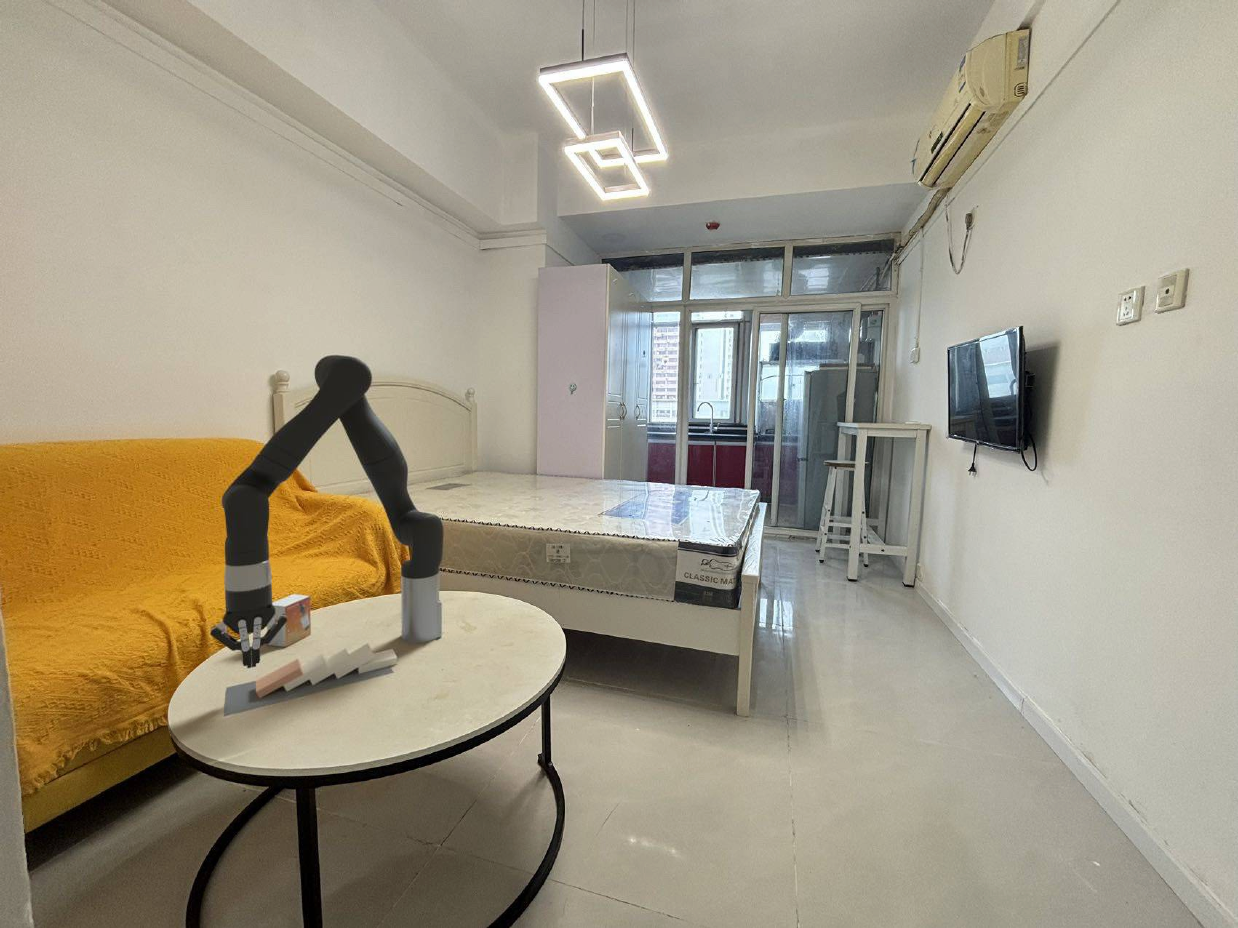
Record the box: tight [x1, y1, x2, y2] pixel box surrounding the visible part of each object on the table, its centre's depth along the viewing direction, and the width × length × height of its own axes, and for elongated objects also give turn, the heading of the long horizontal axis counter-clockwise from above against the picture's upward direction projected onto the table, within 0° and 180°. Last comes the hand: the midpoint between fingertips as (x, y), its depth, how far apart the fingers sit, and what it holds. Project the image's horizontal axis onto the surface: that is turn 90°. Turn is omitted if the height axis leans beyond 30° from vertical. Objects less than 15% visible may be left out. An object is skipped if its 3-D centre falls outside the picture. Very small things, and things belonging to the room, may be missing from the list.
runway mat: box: [223, 650, 395, 717], centre depth 107 cm, size 30×12×1 cm, turn 126°
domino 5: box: [357, 648, 398, 673], centre depth 115 cm, size 2×5×8 cm
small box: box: [266, 593, 312, 648], centre depth 126 cm, size 8×6×10 cm
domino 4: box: [335, 643, 375, 679], centre depth 112 cm, size 2×5×8 cm
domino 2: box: [283, 653, 328, 691], centre depth 106 cm, size 2×5×8 cm
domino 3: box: [310, 648, 352, 685], centre depth 109 cm, size 2×5×8 cm
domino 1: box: [255, 658, 303, 698], centre depth 104 cm, size 2×5×8 cm
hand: (251, 665), depth 101 cm, fingers closed
